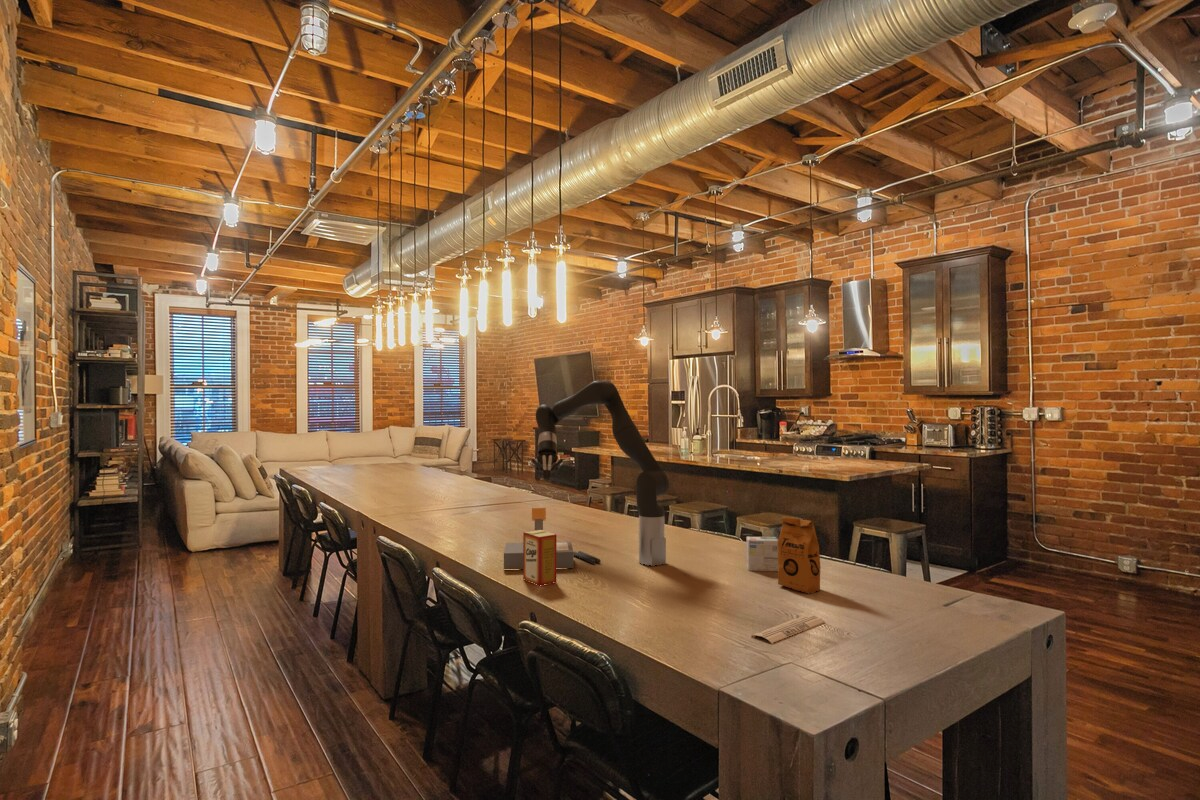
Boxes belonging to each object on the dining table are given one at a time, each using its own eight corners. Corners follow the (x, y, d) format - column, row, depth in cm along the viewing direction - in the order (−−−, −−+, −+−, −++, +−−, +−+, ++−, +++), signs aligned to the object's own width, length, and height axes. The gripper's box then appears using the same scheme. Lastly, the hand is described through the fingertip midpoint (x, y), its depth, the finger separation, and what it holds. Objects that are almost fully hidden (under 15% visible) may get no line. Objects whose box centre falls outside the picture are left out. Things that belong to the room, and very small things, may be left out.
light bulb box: (776, 566, 227) (776, 536, 227) (779, 571, 220) (779, 540, 220) (745, 566, 228) (745, 535, 228) (748, 571, 221) (748, 539, 221)
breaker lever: (531, 544, 231) (532, 510, 237) (545, 544, 232) (545, 509, 237) (531, 543, 229) (531, 508, 234) (545, 542, 229) (545, 508, 235)
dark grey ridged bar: (601, 563, 231) (601, 559, 231) (592, 564, 229) (592, 560, 229) (580, 554, 244) (580, 550, 244) (571, 555, 242) (571, 551, 242)
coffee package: (806, 596, 193) (806, 523, 193) (773, 586, 203) (773, 517, 203) (826, 590, 199) (826, 519, 199) (793, 581, 209) (793, 513, 209)
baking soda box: (556, 582, 207) (556, 533, 207) (539, 586, 202) (539, 535, 202) (539, 576, 214) (540, 528, 214) (523, 579, 210) (523, 531, 210)
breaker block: (506, 559, 237) (506, 534, 237) (571, 557, 239) (571, 533, 239) (503, 570, 221) (503, 544, 221) (573, 569, 223) (573, 543, 223)
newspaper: (805, 619, 175) (805, 612, 175) (828, 626, 169) (828, 619, 169) (751, 639, 160) (751, 632, 160) (775, 648, 154) (775, 641, 154)
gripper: (530, 439, 256) (529, 473, 244) (564, 439, 257) (564, 474, 245) (531, 451, 261) (529, 485, 249) (563, 451, 262) (563, 485, 250)
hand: (546, 479), depth 247 cm, fingers closed
